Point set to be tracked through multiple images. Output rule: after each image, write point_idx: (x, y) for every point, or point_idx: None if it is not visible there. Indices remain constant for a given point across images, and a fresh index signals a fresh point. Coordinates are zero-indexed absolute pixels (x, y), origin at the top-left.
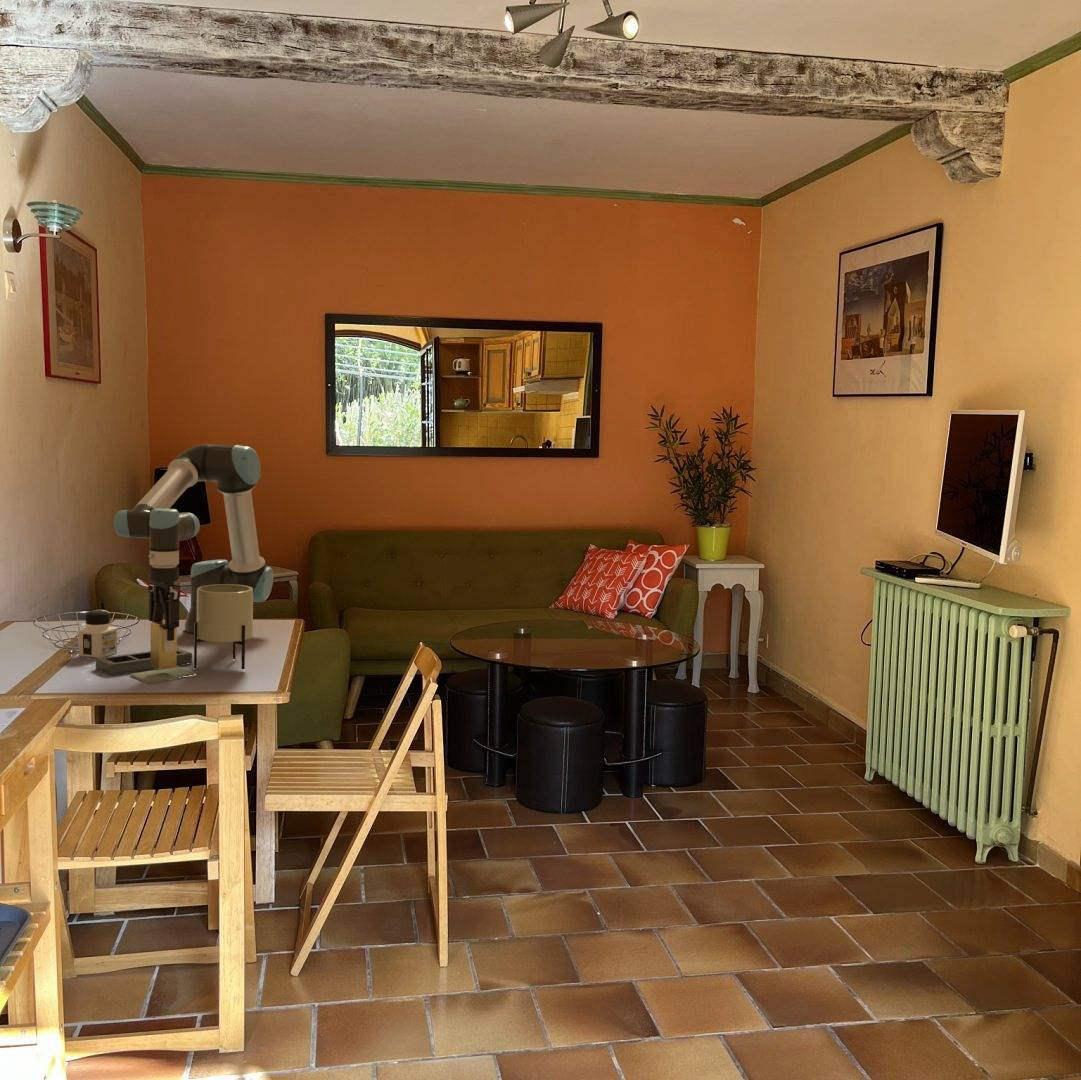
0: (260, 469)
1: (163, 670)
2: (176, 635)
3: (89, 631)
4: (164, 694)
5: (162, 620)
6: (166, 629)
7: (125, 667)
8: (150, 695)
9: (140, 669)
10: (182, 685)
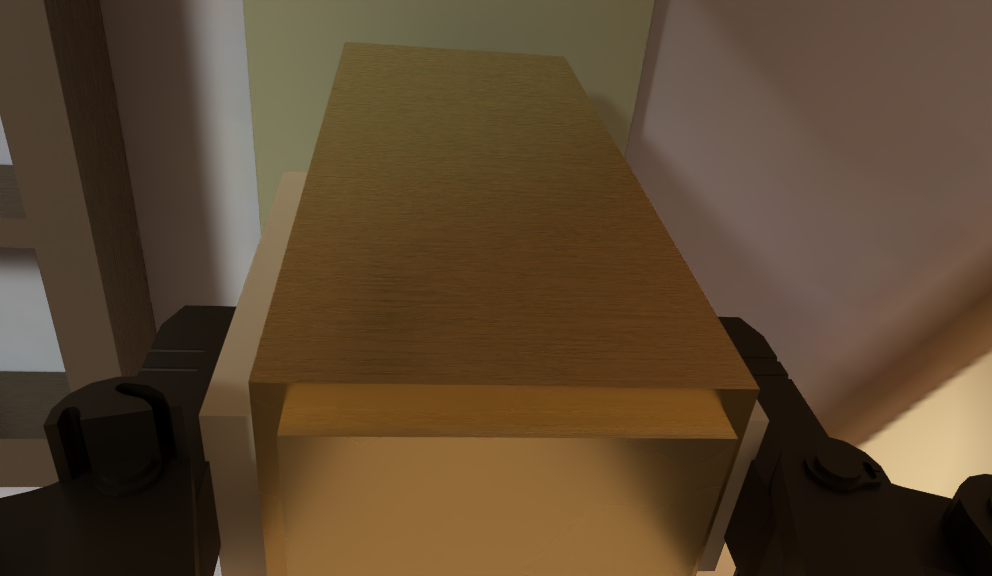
0: None
1: (314, 49)
2: (670, 245)
3: None
4: (916, 374)
5: (188, 503)
6: (721, 543)
7: (137, 345)
8: (855, 440)
9: (124, 189)
10: (847, 163)
